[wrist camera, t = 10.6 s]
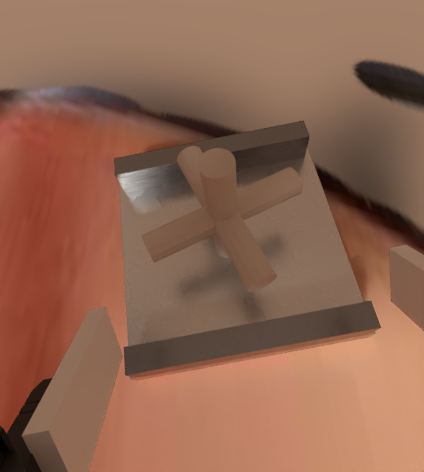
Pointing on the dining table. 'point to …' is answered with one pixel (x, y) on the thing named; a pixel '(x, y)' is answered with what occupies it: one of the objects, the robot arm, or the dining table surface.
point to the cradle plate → (223, 270)
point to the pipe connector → (224, 213)
